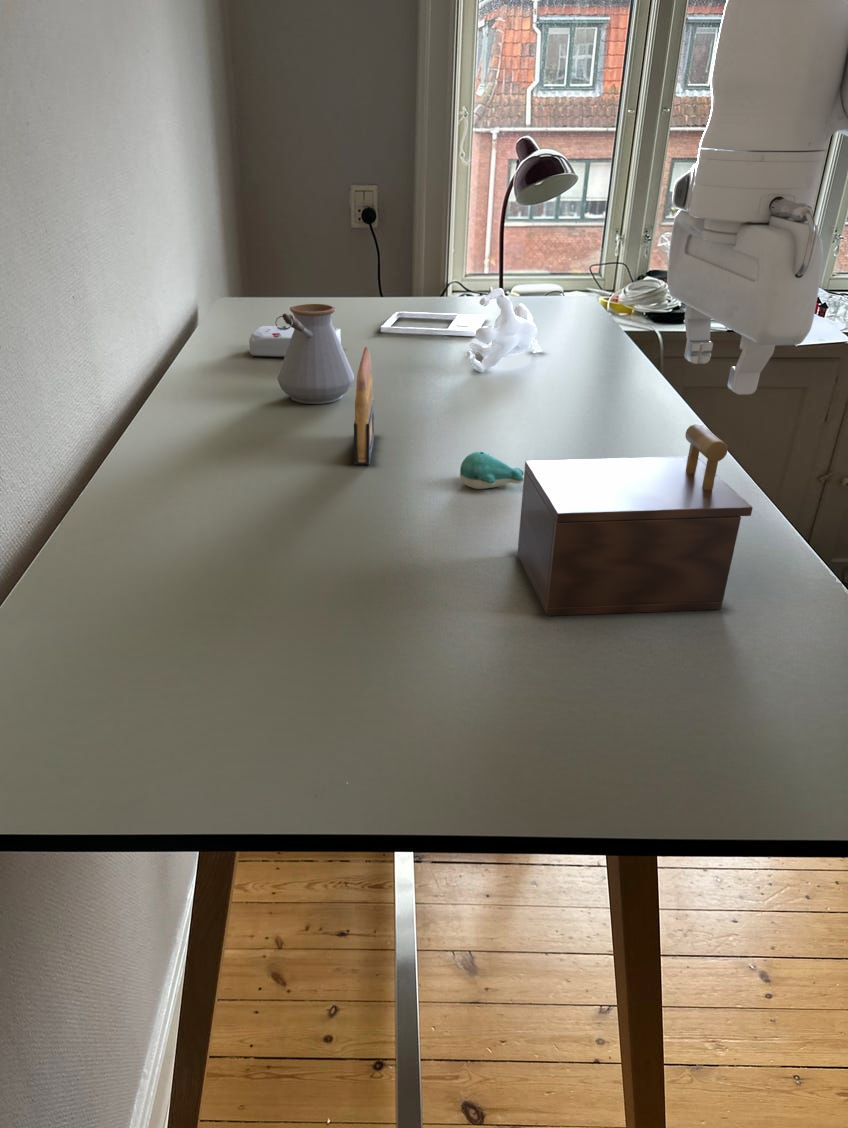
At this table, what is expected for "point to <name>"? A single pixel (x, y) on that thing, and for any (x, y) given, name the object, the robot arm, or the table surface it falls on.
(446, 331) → the photo frame
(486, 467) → the whale figurine
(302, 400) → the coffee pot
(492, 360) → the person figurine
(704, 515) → the compartment lid
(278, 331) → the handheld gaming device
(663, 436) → the table surface
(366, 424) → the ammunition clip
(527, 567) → the compartment
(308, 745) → the table surface
